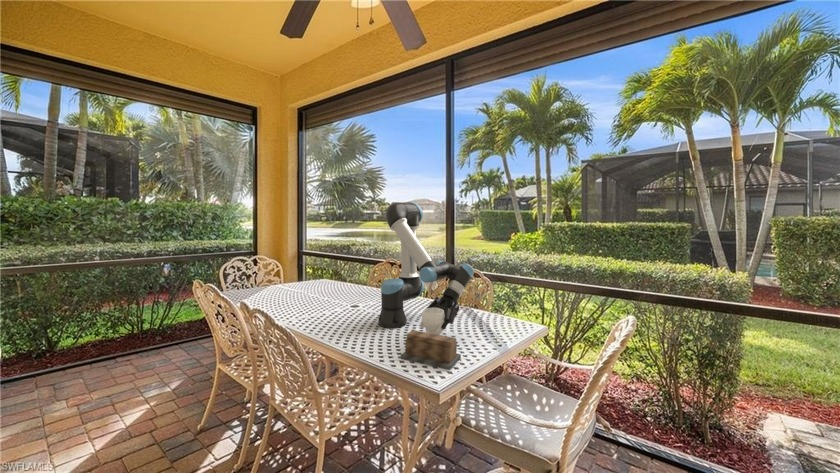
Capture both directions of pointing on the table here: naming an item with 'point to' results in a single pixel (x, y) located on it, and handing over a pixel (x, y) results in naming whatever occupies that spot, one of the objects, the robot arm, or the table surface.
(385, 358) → the table surface
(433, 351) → the brown wooden block
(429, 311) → the cup
